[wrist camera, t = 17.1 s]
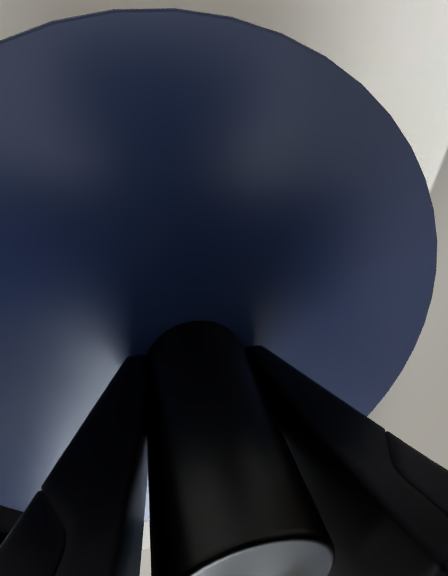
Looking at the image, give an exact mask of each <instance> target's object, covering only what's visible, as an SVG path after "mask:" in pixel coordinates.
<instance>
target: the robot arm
mask: <svg viewBox="0 0 448 576" xmlns="http://www.w3.org/2000/svg"><path fill="white" fill-rule="evenodd" d="M244 351H245V353H246V356H247V358H248V360H249V362H250V364H251V366H252V369H253V371H254V373H255V375H256V377H257V379H258V382H259V384H260V386H261V388H262V390H263V392H264V395H265V397H266V399H267V401H268V403H269V405H270V408H271V410H272V412H273V414H274V416H275V418H276V421H277V423H278V425H279V427H280V429H281V431H282V434H283V436H284V438H285V440H286V442H287V444H288V447H289V449H290V451H291V453H292V455H293V457H294V460H295V462H296V464H297V466H298V468H299V470H300V473H301V475H302V477H303V479H304V481H305V483H306V486H307V488H308V490H309V492H310V494H311V496H312V499H313V501H314V503H315V505H316V507H317V509H318V512H319V514H320V516H321V518H322V520H323V522H324V525H325V527H326V529H327V531H328V533H329V535H330V538H331V540H332V542H333V545H334V549H335V562H334V565H333V567H332V570H331V571H330V573H329V574H328V576H448V470H447V469H445V468H443V467H442V466H440V465H438V464H437V463H435V462H434V461H432V460H430V459H429V458H427V457H426V456H424V455H423V454H421V453H420V452H418V451H417V450H415V449H414V448H412V447H411V446H409V445H408V444H406V443H405V442H403V441H402V440H400V439H399V438H397V437H396V436H394V435H393V434H391V433H390V432H388V431H387V432H385V429H384V428H382V427H381V426H380V425H378V424H376V423H375V422H374V421H372V420H371V419H369V418H367V417H366V416H365V415H363V414H362V413H360V412H359V411H358V410H356V409H355V408H353V407H352V406H350V405H349V404H347V403H346V402H344V401H343V400H341V399H340V398H338V397H337V396H336V395H334V394H333V393H331V392H330V391H328V390H327V389H325V388H324V387H322V386H321V385H319V384H318V383H316V382H315V381H314V380H312V379H311V378H309V377H308V376H306V375H305V374H303V373H302V372H300V371H299V370H297V369H296V368H294V367H293V366H292V365H290V364H289V363H287V362H286V361H284V360H283V359H281V358H280V357H278V356H277V355H275V354H274V353H272V352H271V351H270V350H268V349H267V348H265V347H264V346H262V345H254V346H247V347H246V348H245V350H244ZM147 413H148V392H147V368H146V356H145V355H133V356H128V357H127V358H126V359H125V360H124V362H123V363H122V365H121V366H120V368H119V369H118V371H117V372H116V374H115V375H114V377H113V378H112V380H111V381H110V383H109V384H108V386H107V387H106V389H105V391H104V392H103V394H102V395H101V397H100V398H99V400H98V401H97V403H96V404H95V406H94V407H93V409H92V410H91V412H90V413H89V415H88V416H87V418H86V419H85V421H84V422H83V424H82V425H81V427H80V428H79V430H78V431H77V433H76V434H75V436H74V437H73V439H72V440H71V442H70V443H69V445H68V446H67V448H66V449H65V451H64V452H63V454H62V455H61V457H60V458H59V460H58V461H57V463H56V464H55V466H54V467H53V469H52V470H51V472H50V474H49V475H48V477H47V478H46V480H45V481H44V483H43V484H42V486H41V490H40V491H38V492H37V493H36V494H35V496H34V497H33V499H32V500H31V502H30V503H29V505H28V506H27V508H26V509H25V511H24V512H23V511H19V510H15V509H12V508H8V507H5V506H2V505H0V576H139V574H140V562H141V551H142V539H143V527H144V515H145V503H146V491H147V479H148V458H147Z"/></svg>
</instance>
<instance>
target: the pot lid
mask: <svg viewBox="0 0 448 576" xmlns="http://www.w3.org/2000/svg"><path fill="white" fill-rule="evenodd" d="M436 258H437V235H436V227H435V218H434V210H433V206H432V202H431V198H430V194H429V191H428V187H427V183H426V180H425V177H424V175H423V172H422V170H421V168H420V166H419V163H418V161H417V159H416V157H415V154H414V152H413V150H412V148H411V146H410V144H409V143H408V141H407V140H406V138H405V137H404V135H403V134H402V132H401V130H400V129H399V127H398V126H397V124H396V123H395V121H394V120H393V118H392V117H391V115H390V114H389V113H388V112H387V111H386V110H385V109H384V108H383V107H382V105H381V104H380V103H379V102H378V101H377V100H376V99H375V98H374V97H373V96H372V95H371V94H370V93H369V91H368V90H367V89H366V88H365V87H364V86H363V85H362V84H361V83H360V82H358V81H357V80H356V79H354V78H353V77H352V76H350V75H349V74H348V73H347V72H345V71H344V70H343V69H341V68H340V67H339V66H337V65H336V64H335V63H334V62H332V61H331V60H330V59H328V58H327V57H326V56H324V55H322V54H320V53H318V52H316V51H314V50H312V49H311V48H309V47H307V46H305V45H303V44H301V43H299V42H297V41H295V40H293V39H292V38H290V37H288V36H286V35H284V34H282V33H279V32H276V31H273V30H270V29H267V28H264V27H261V26H258V25H255V24H252V23H248V22H245V21H242V20H239V19H236V18H233V17H229V16H222V15H216V14H209V13H202V12H196V11H189V10H183V9H176V8H161V9H113V10H108V11H102V12H97V13H91V14H86V15H81V16H75V17H70V18H65V19H59V20H54V21H51V22H48V23H45V24H43V25H40V26H37V27H35V28H32V29H29V30H26V31H24V32H21V33H18V34H16V35H13V36H10V37H8V38H5V39H2V40H0V505H2V506H5V507H8V508H12V509H15V510H19V511H23V512H24V511H25V509H26V508H27V506H28V505H29V503H30V502H31V500H32V499H33V497H34V496H35V494H36V493H37V492H38V491H40V490H41V486H42V484H43V483H44V481H45V480H46V478H47V477H48V475H49V474H50V472H51V470H52V469H53V467H54V466H55V464H56V463H57V461H58V460H59V458H60V457H61V455H62V454H63V452H64V451H65V449H66V448H67V446H68V445H69V443H70V442H71V440H72V439H73V437H74V436H75V434H76V433H77V431H78V430H79V428H80V427H81V425H82V424H83V422H84V421H85V419H86V418H87V416H88V415H89V413H90V412H91V410H92V409H93V407H94V406H95V404H96V403H97V401H98V400H99V398H100V397H101V395H102V394H103V392H104V391H105V389H106V387H107V386H108V384H109V383H110V381H111V380H112V378H113V377H114V375H115V374H116V372H117V371H118V369H119V368H120V366H121V365H122V363H123V362H124V360H125V359H126V358H127V357H128V356H133V355H145V356H146V368H147V392H148V413H147V458H148V479H147V491H146V503H145V515H144V521H150V548H151V576H328V574H329V573H330V571H331V570H332V567H333V565H334V562H335V549H334V545H333V542H332V540H331V538H330V535H329V533H328V531H327V529H326V527H325V525H324V522H323V520H322V518H321V516H320V514H319V512H318V509H317V507H316V505H315V503H314V501H313V499H312V496H311V494H310V492H309V490H308V488H307V486H306V483H305V481H304V479H303V477H302V475H301V473H300V470H299V468H298V466H297V464H296V462H295V460H294V457H293V455H292V453H291V451H290V449H289V447H288V444H287V442H286V440H285V438H284V436H283V434H282V431H281V429H280V427H279V425H278V423H277V421H276V418H275V416H274V414H273V412H272V410H271V408H270V405H269V403H268V401H267V399H266V397H265V395H264V392H263V390H262V388H261V386H260V384H259V382H258V379H257V377H256V375H255V373H254V371H253V369H252V366H251V364H250V362H249V360H248V358H247V356H246V353H245V351H244V350H245V348H246V347H247V346H254V345H262V346H264V347H265V348H267V349H268V350H270V351H271V352H272V353H274V354H275V355H277V356H278V357H280V358H281V359H283V360H284V361H286V362H287V363H289V364H290V365H292V366H293V367H294V368H296V369H297V370H299V371H300V372H302V373H303V374H305V375H306V376H308V377H309V378H311V379H312V380H314V381H315V382H316V383H318V384H319V385H321V386H322V387H324V388H325V389H327V390H328V391H330V392H331V393H333V394H334V395H336V396H337V397H338V398H340V399H341V400H343V401H344V402H346V403H347V404H349V405H350V406H352V407H353V408H355V409H356V410H358V411H359V412H360V413H362V414H363V415H365V416H366V417H367V416H368V415H369V414H370V413H371V412H372V411H373V409H374V408H375V407H376V406H377V404H378V403H379V402H380V401H381V400H382V398H383V397H384V396H385V395H386V393H387V392H388V391H389V389H390V388H391V386H392V385H393V383H394V382H395V380H396V379H397V377H398V376H399V374H400V373H401V371H402V370H403V368H404V366H405V364H406V362H407V361H408V359H409V357H410V355H411V353H412V351H413V349H414V347H415V345H416V343H417V340H418V338H419V335H420V333H421V331H422V328H423V326H424V323H425V320H426V316H427V312H428V309H429V305H430V302H431V299H432V293H433V287H434V281H435V275H436V260H437V259H436Z"/></svg>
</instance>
